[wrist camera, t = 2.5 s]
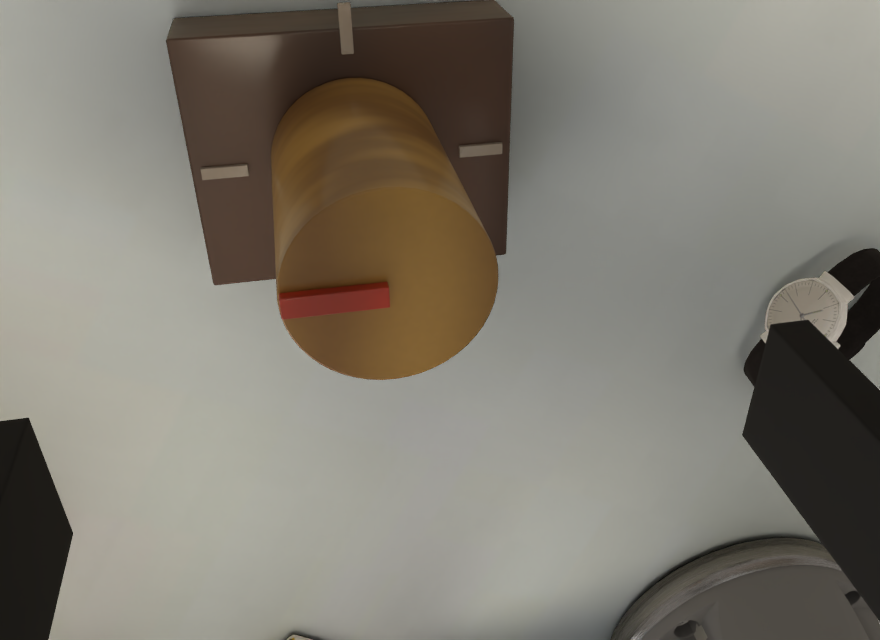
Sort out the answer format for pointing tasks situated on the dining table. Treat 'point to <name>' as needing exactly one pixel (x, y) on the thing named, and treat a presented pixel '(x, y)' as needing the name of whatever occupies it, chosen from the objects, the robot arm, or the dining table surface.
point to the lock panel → (320, 61)
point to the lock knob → (374, 235)
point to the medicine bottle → (297, 638)
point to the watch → (829, 306)
